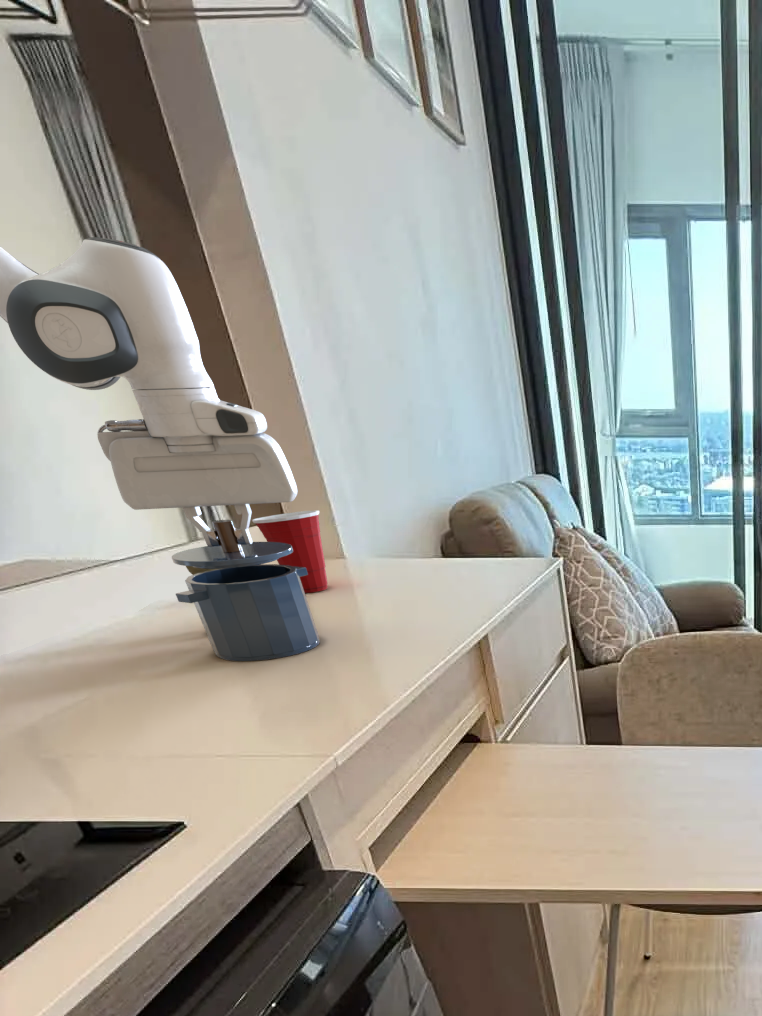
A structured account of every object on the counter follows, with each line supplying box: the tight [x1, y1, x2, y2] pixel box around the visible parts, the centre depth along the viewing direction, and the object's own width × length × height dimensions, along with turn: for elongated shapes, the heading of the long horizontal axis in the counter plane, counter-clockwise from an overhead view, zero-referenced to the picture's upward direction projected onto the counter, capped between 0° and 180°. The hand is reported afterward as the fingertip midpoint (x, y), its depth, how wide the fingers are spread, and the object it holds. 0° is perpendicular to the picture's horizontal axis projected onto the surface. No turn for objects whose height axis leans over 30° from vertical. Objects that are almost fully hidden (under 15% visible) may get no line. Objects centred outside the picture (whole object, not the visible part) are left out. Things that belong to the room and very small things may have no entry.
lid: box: [171, 519, 293, 569], centre depth 112 cm, size 15×15×5 cm
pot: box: [175, 563, 321, 662], centre depth 118 cm, size 14×19×10 cm
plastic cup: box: [251, 509, 328, 594], centre depth 148 cm, size 11×11×12 cm
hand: (230, 545), depth 113 cm, fingers closed on lid, 2 cm apart
